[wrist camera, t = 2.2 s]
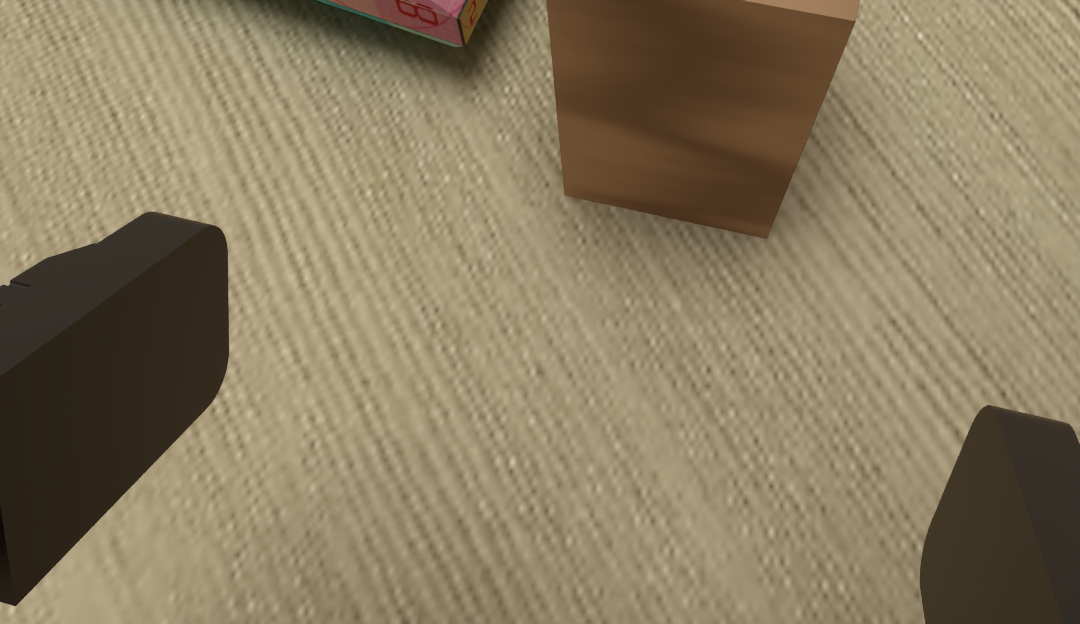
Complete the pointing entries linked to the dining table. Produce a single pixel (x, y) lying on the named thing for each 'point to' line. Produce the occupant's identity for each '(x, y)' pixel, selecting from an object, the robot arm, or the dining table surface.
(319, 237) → the dining table surface
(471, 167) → the dining table surface
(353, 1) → the puzzle game
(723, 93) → the walnut block
